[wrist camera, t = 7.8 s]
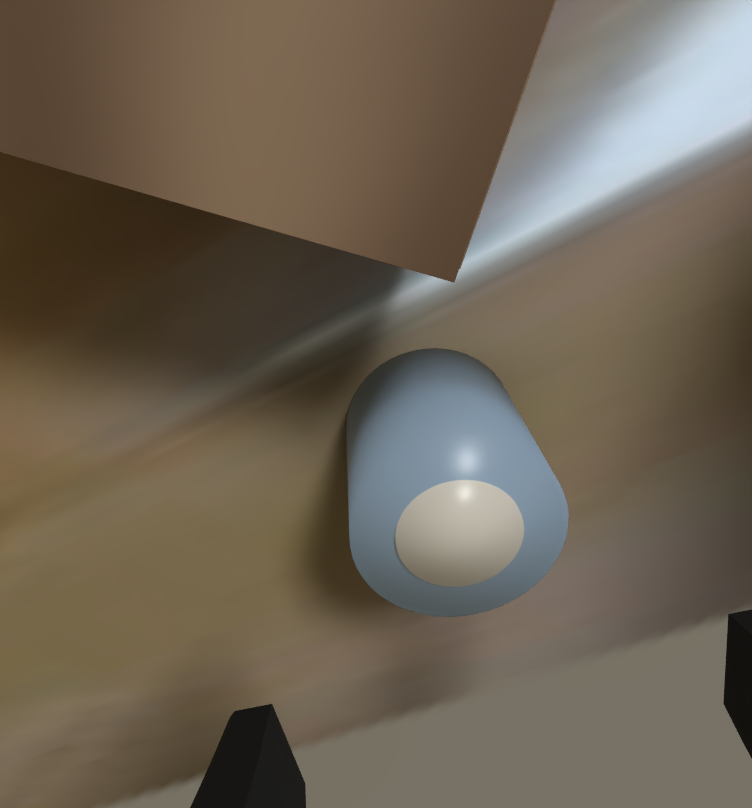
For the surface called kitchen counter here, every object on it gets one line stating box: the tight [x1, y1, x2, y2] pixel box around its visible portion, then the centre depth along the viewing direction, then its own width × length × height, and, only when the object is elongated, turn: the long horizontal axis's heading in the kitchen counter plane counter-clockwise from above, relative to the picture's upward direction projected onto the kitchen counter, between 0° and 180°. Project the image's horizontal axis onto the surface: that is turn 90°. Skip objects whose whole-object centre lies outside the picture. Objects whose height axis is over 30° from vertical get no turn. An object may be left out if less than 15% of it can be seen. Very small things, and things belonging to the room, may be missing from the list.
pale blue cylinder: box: [346, 348, 568, 617], centre depth 16 cm, size 5×5×5 cm
